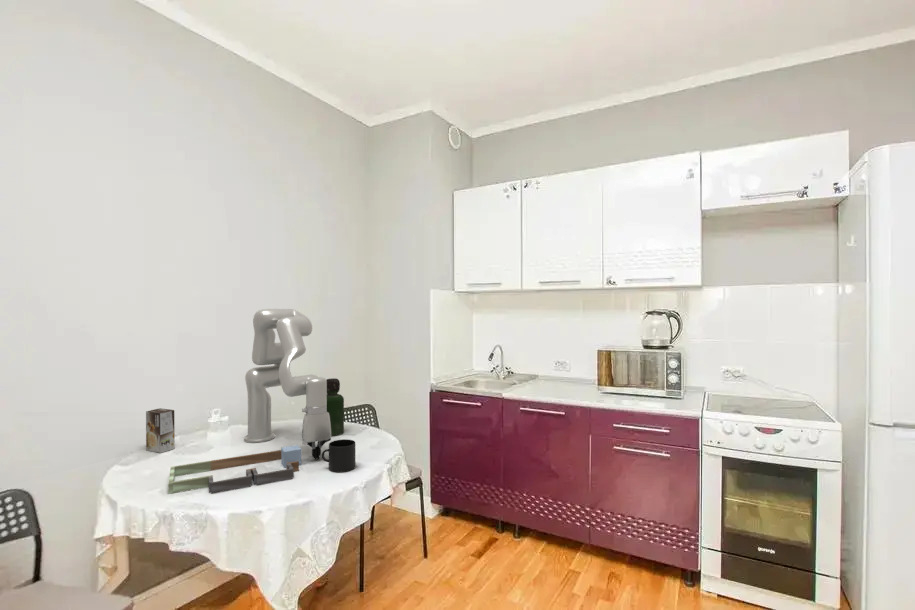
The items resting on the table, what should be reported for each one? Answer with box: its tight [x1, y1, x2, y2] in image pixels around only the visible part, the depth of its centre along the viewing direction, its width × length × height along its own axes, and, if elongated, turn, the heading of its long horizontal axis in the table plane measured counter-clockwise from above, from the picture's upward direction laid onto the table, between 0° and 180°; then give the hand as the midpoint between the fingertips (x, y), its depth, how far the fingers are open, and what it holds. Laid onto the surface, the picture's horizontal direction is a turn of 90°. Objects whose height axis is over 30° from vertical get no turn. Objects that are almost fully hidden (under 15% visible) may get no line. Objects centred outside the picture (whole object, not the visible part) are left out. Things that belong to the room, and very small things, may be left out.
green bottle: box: [326, 377, 345, 437], centre depth 209 cm, size 10×10×25 cm
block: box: [280, 444, 302, 469], centre depth 168 cm, size 6×6×6 cm
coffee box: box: [145, 408, 176, 454], centre depth 186 cm, size 9×6×16 cm
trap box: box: [167, 449, 300, 495], centre depth 156 cm, size 24×39×3 cm, turn 120°
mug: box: [321, 439, 356, 473], centre depth 164 cm, size 9×12×9 cm
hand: (316, 458), depth 173 cm, fingers closed
